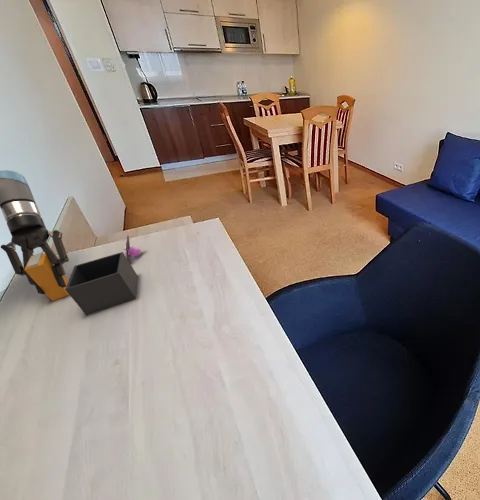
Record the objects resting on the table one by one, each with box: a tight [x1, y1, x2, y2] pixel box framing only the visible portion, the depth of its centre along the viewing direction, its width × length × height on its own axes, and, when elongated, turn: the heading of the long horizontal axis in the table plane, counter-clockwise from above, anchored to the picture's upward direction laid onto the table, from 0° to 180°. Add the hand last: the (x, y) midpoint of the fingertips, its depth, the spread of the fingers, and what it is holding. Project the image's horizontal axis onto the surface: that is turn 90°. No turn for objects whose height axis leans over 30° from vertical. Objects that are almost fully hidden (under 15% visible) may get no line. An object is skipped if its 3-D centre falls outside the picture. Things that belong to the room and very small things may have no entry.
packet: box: [25, 252, 70, 302], centre depth 90 cm, size 4×7×13 cm, turn 33°
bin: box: [65, 251, 138, 316], centre depth 88 cm, size 12×12×10 cm
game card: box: [123, 235, 144, 262], centre depth 106 cm, size 7×5×9 cm
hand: (52, 289), depth 88 cm, fingers closed on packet, 4 cm apart
